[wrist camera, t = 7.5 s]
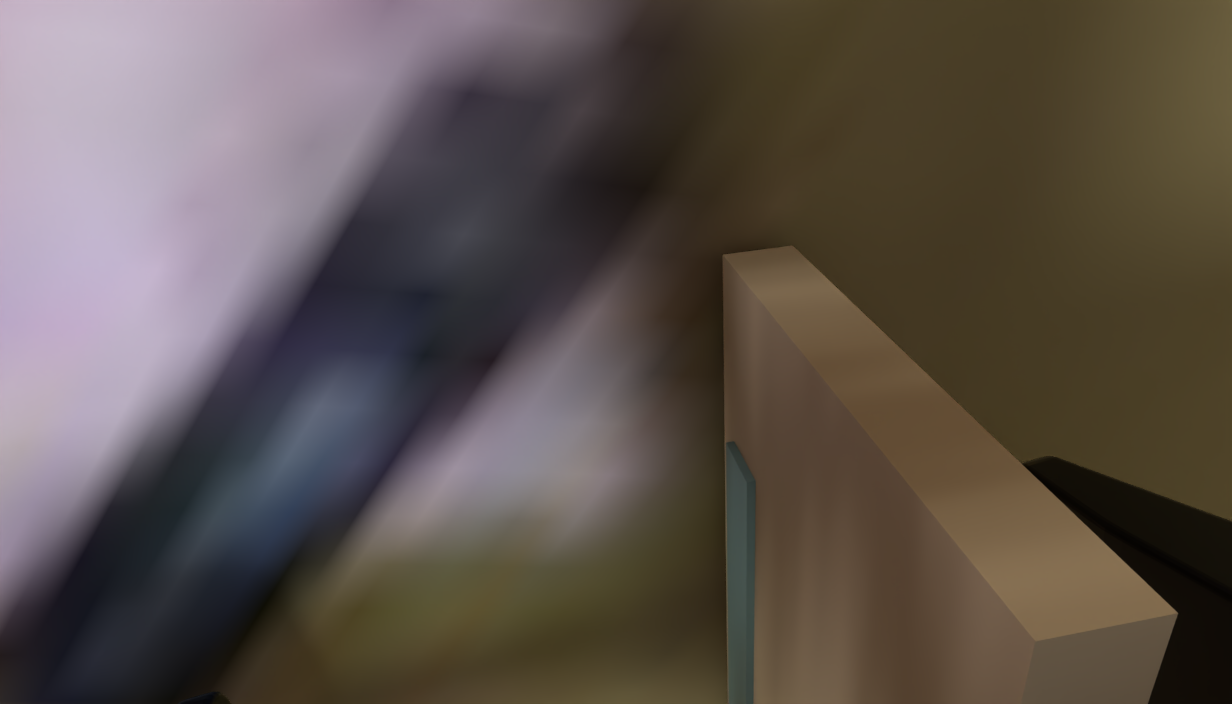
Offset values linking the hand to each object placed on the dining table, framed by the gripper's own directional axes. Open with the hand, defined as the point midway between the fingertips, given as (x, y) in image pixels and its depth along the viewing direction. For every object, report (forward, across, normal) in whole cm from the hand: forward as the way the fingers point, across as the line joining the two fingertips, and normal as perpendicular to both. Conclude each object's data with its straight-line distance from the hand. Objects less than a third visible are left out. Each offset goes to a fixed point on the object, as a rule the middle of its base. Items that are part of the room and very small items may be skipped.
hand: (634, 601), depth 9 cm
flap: (+1, -1, +5) cm, 6 cm away
